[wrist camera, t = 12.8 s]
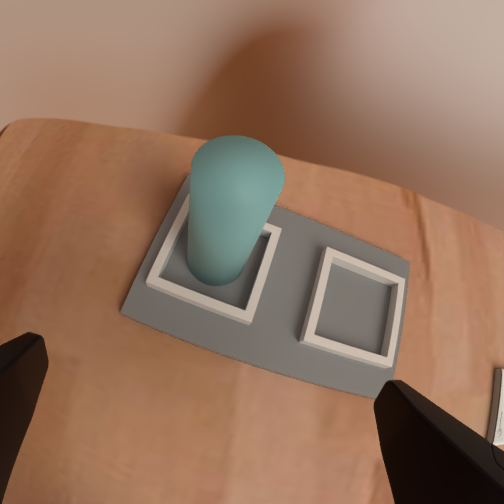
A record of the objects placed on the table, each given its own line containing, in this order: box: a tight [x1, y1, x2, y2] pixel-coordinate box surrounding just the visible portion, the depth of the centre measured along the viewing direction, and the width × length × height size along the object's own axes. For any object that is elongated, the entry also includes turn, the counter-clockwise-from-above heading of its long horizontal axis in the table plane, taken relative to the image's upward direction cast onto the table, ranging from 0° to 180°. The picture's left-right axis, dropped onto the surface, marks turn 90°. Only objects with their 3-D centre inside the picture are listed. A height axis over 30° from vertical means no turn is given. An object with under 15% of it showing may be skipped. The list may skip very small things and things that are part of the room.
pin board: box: [120, 173, 410, 399], centre depth 22 cm, size 20×12×2 cm, turn 72°
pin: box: [187, 135, 285, 286], centre depth 18 cm, size 4×4×10 cm
